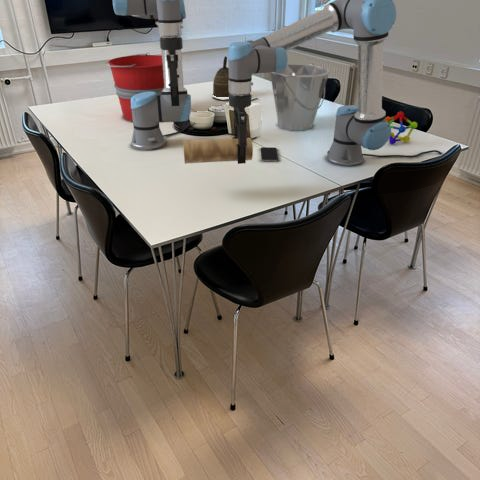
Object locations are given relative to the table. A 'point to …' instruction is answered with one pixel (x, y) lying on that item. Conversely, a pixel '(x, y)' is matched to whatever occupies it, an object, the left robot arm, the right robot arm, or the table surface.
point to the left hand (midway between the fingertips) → (175, 101)
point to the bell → (221, 81)
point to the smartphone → (269, 154)
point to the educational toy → (400, 128)
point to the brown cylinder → (214, 150)
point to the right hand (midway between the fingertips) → (239, 158)
